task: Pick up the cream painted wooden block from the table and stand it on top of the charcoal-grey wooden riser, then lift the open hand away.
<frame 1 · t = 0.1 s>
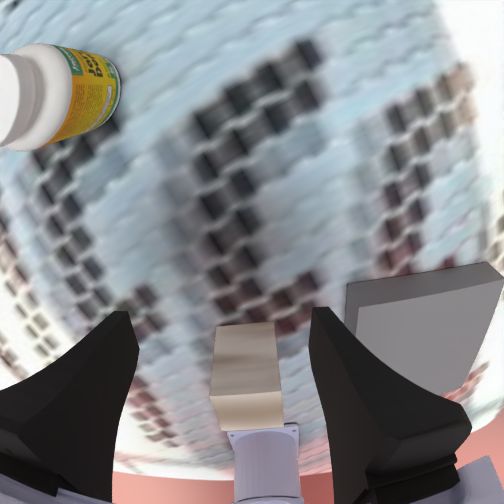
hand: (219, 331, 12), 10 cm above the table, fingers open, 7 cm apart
supplement bottle: (88, 93, 16), on the table
cream block: (248, 344, 25), on the table
riser block: (412, 336, 26), on the table
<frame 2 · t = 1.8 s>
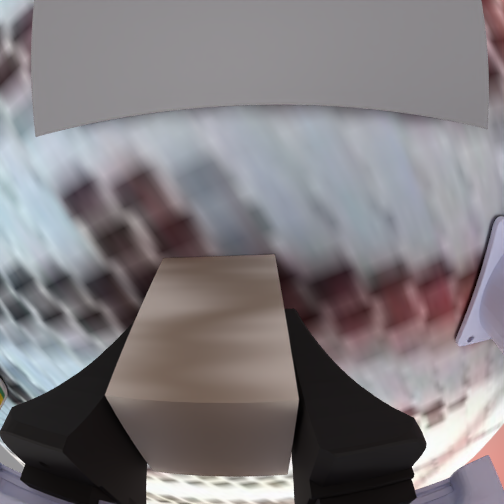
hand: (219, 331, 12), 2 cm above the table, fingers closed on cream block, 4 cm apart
cream block: (222, 302, 14), on the table, touching gripper
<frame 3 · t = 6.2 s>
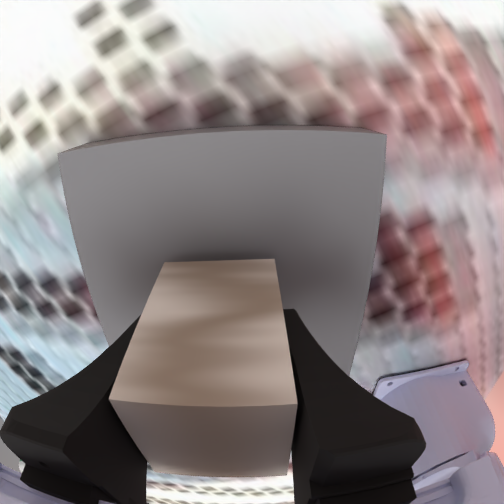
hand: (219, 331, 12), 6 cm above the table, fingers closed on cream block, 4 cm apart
cream block: (222, 305, 14), point 4 cm above the table, touching gripper
riser block: (227, 258, 17), on the table
when the fingers open (6 cm above the table, at t = 6.6 s): cream block stays where it is, resting on riser block.
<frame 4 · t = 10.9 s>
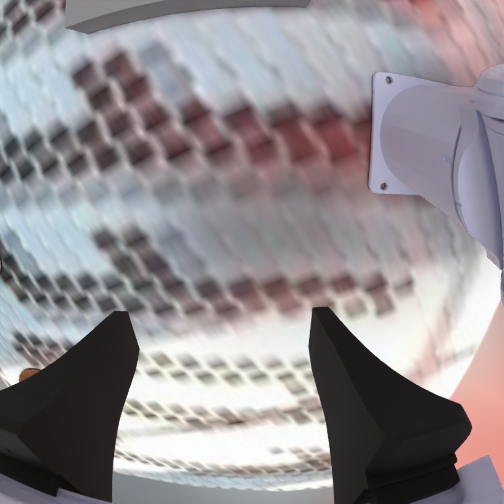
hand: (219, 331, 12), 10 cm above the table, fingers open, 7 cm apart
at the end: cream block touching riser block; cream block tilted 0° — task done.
